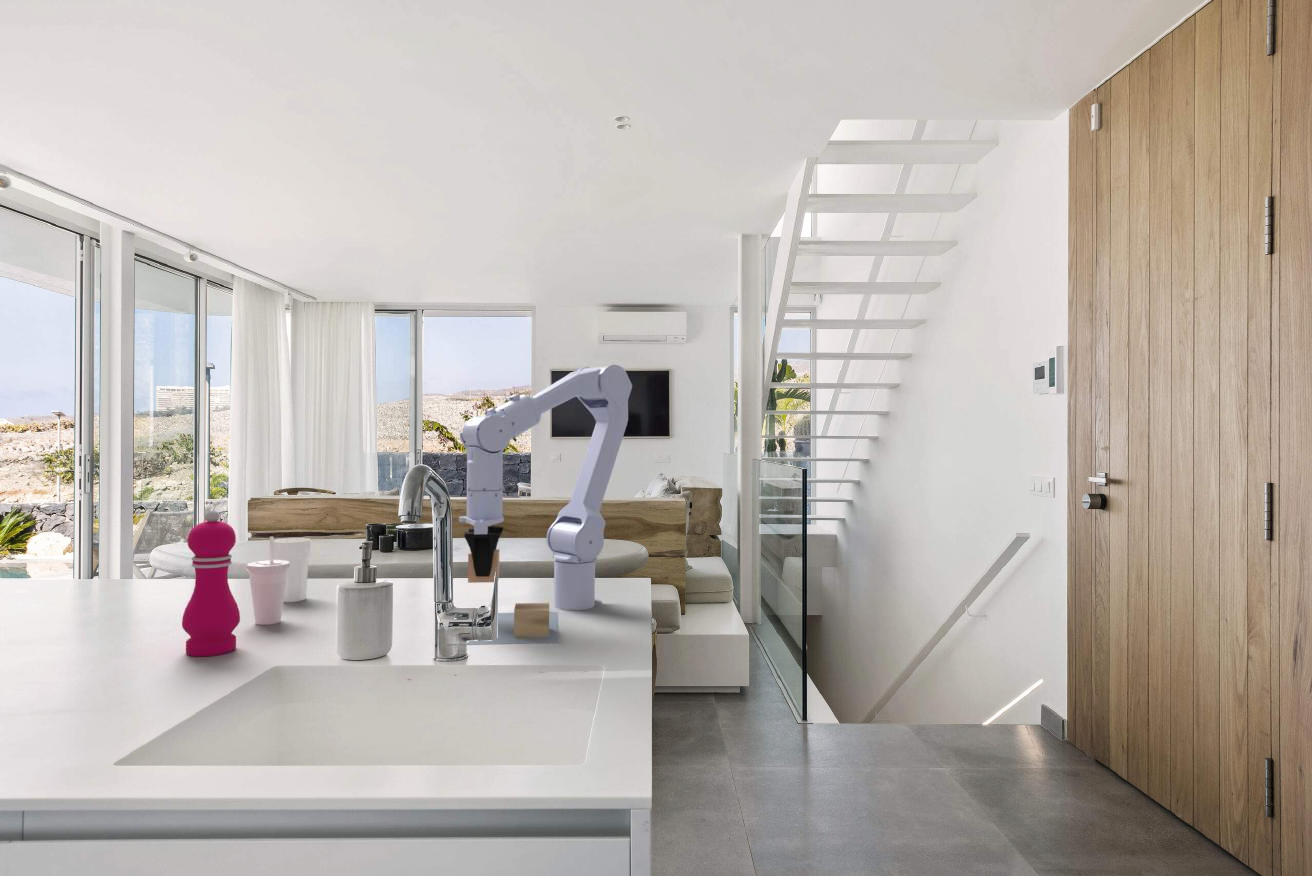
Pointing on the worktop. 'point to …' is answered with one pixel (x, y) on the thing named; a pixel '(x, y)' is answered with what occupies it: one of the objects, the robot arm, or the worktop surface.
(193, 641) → the pepper mill
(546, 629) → the oak base block
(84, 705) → the worktop surface
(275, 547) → the cup
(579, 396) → the robot arm
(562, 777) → the worktop surface
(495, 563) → the terracotta block
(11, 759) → the worktop surface
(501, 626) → the board
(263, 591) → the smoothie
